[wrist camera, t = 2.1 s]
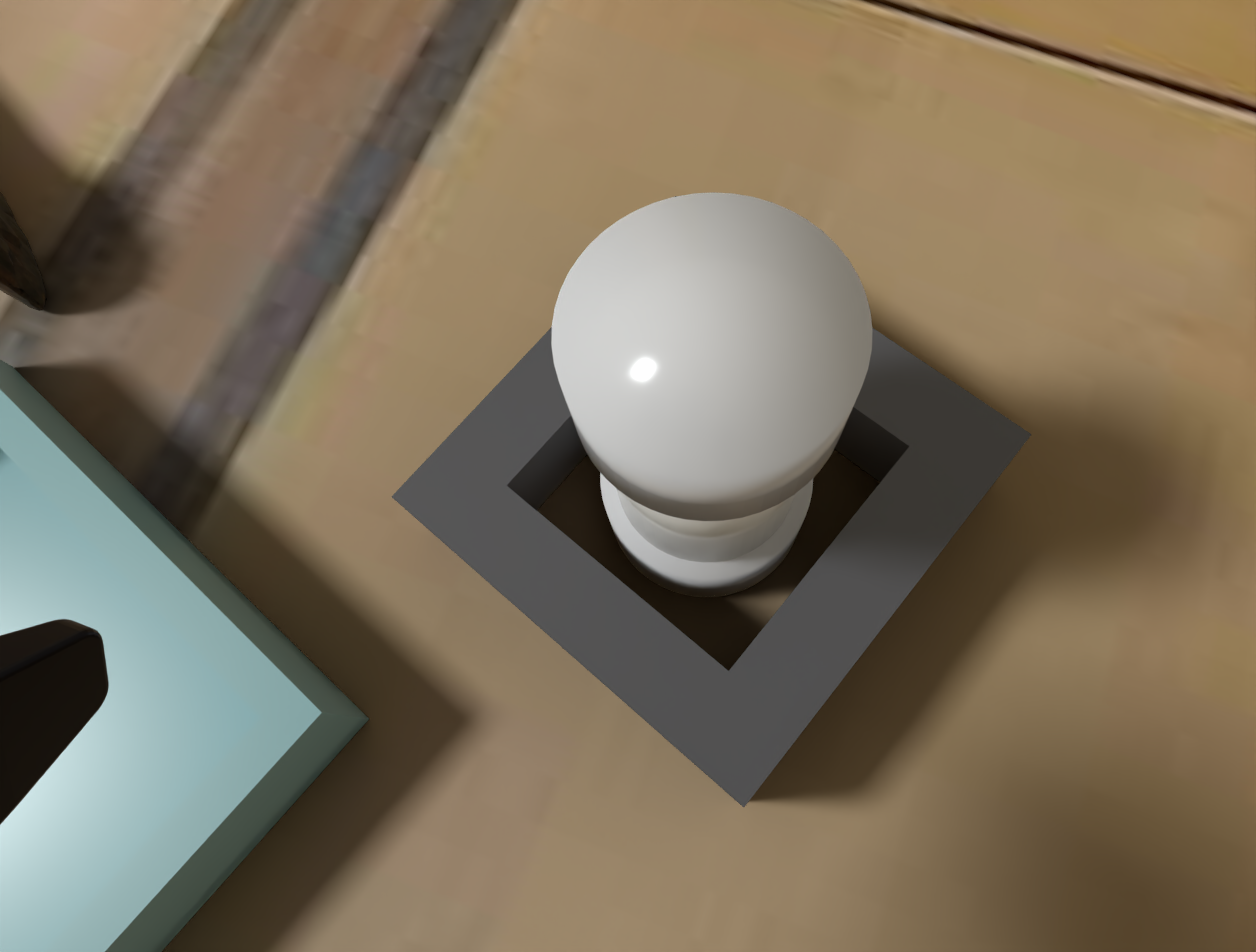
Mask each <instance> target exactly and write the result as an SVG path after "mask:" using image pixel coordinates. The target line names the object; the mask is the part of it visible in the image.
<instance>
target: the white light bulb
mask: <svg viewBox="0 0 1256 952" xmlns="http://www.w3.org/2000/svg"><path fill="white" fill-rule="evenodd" d="M872 331H873V330H872V321H871V312H870V308H869V304H868V300H867V297H866V293H865V291H864V288H863V286H862V283H861V281H860V279H859V276H858V274H857V273H856V271H855V269H854V268H853V266H852V264H851V263H850V261H849V259H848V258H847V257H846V256H845V254H844V253H843V252H842V251H841V249H840V248H839V247H838V246H837V245H836V244H835V243H834V242H833V241H832V240H831V239H830V238H829V237H828V236H827V235H826V234H825V233H824V232H823V231H822V230H820V229H819V228H818V227H816V226H815V225H814V224H812V223H811V222H810V221H808V220H807V219H805V218H803V217H801V216H800V215H798V214H796V213H794V212H793V211H791V210H789V209H786V208H784V207H782V206H779V205H777V204H774V203H772V202H769V201H765V200H762V199H758V198H755V197H750V196H744V195H738V194H730V193H697V194H689V195H683V196H677V197H672V198H669V199H665V200H662V201H658V202H655V203H652V204H650V205H648V206H645V207H643V208H640V209H638V210H636V211H634V212H632V213H630V214H629V215H627V216H625V217H623V218H621V219H620V220H618V221H617V222H616V223H614V224H613V225H611V226H610V227H609V228H607V229H606V230H604V231H603V232H602V233H601V234H600V235H599V236H598V237H597V238H596V239H595V240H594V241H593V242H591V243H590V245H589V246H588V247H587V248H586V249H585V250H584V252H583V253H582V254H581V255H580V256H579V258H578V259H577V261H576V262H575V264H574V265H573V267H572V268H571V270H570V271H569V273H568V275H567V277H566V279H565V281H564V283H563V286H562V288H561V290H560V293H559V296H558V299H557V302H556V306H555V310H554V316H553V322H552V342H551V345H552V353H553V361H554V366H555V370H556V373H557V377H558V380H559V383H560V386H561V389H562V392H563V394H564V397H565V400H566V403H567V405H568V408H569V411H570V414H571V416H572V419H573V422H574V425H575V427H576V430H577V433H578V435H579V438H580V440H581V442H582V444H583V447H584V449H585V451H586V452H587V454H588V456H589V457H590V459H591V461H592V462H593V464H594V465H595V466H596V468H597V469H598V470H599V471H600V485H601V492H602V499H603V502H604V506H605V509H606V512H607V515H608V518H609V520H610V523H611V526H612V529H613V531H614V534H615V537H616V539H617V541H618V543H619V546H620V547H621V549H622V551H623V552H624V554H625V556H626V557H627V558H628V560H629V561H630V562H631V563H632V564H633V566H634V567H635V568H636V569H637V570H638V571H640V572H641V573H642V574H643V575H644V576H645V577H647V578H648V579H650V580H651V581H652V582H654V583H656V584H658V585H659V586H661V587H663V588H665V589H668V590H670V591H673V592H676V593H679V594H683V595H688V596H695V597H718V596H725V595H730V594H733V593H737V592H740V591H742V590H745V589H747V588H749V587H751V586H753V585H755V584H757V583H758V582H760V581H762V580H763V579H764V578H766V577H767V576H768V575H769V574H771V573H772V572H773V571H774V570H775V569H776V568H777V567H778V566H779V565H780V564H781V563H782V561H783V560H784V558H785V557H786V556H787V554H788V553H789V551H790V549H791V547H792V545H793V543H794V541H795V539H796V537H797V535H798V532H799V530H800V528H801V525H802V523H803V521H804V519H805V516H806V513H807V511H808V508H809V505H810V501H811V496H812V490H813V478H814V476H815V475H816V474H817V473H818V472H819V471H820V470H821V469H822V467H823V466H824V464H825V463H826V462H827V460H828V459H829V457H830V456H831V454H832V452H833V450H834V448H835V446H836V444H837V442H838V440H839V438H840V436H841V434H842V431H843V429H844V427H845V424H846V422H847V420H848V418H849V415H850V413H851V411H852V408H853V406H854V404H855V401H856V399H857V397H858V395H859V392H860V390H861V388H862V385H863V382H864V379H865V376H866V373H867V371H868V367H869V362H870V356H871V351H872Z"/></svg>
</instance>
